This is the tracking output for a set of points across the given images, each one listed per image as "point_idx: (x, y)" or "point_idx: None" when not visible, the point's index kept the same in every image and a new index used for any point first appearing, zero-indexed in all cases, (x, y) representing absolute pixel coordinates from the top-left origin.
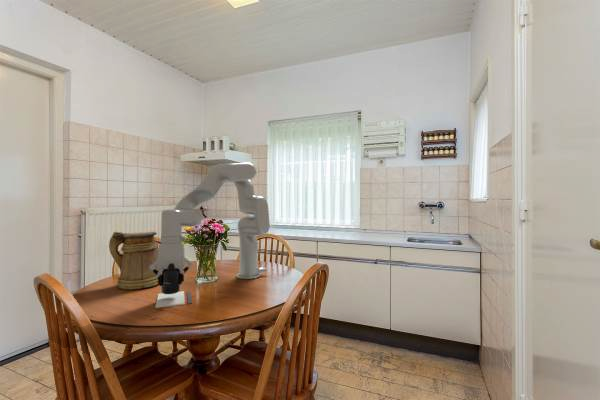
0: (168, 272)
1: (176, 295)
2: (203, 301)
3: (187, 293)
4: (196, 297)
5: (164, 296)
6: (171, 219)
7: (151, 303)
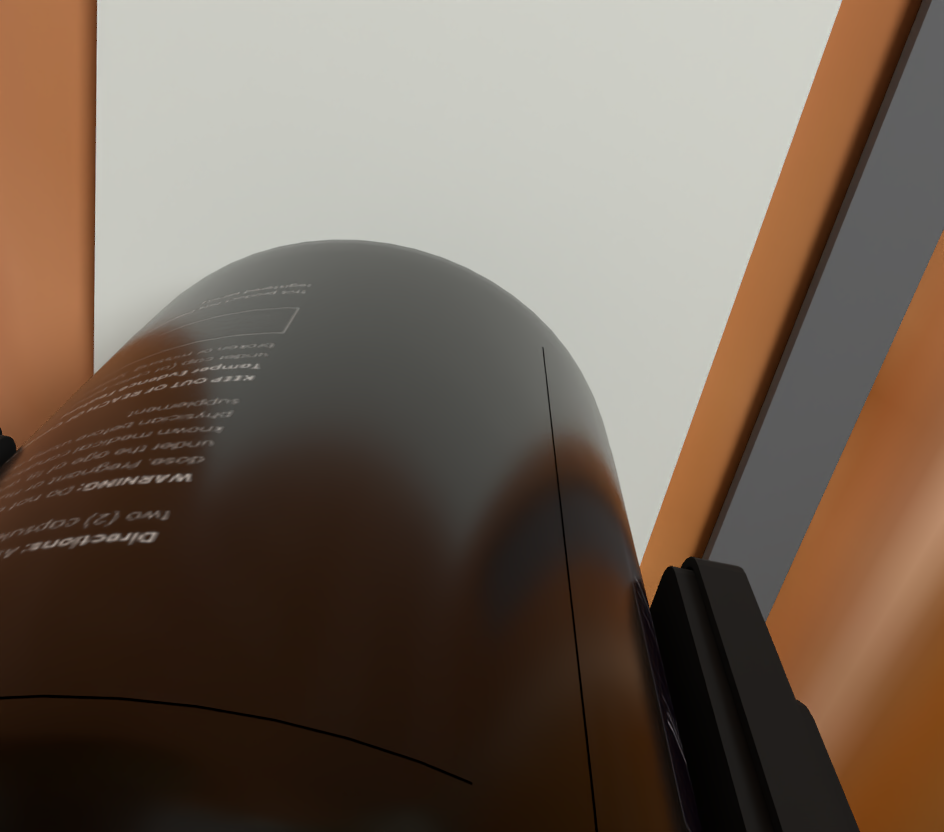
0: None
1: (556, 251)
2: (898, 773)
3: (868, 184)
4: (912, 524)
5: (266, 166)
6: None
7: (6, 407)
